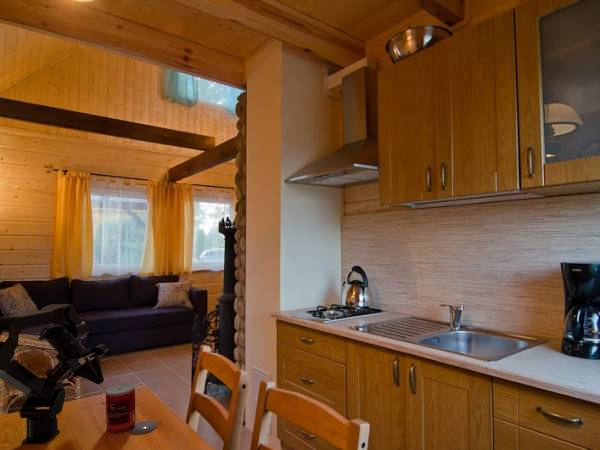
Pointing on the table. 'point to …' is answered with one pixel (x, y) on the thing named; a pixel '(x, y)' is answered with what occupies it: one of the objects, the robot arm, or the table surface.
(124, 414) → the canned food
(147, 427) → the coaster
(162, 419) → the table surface
